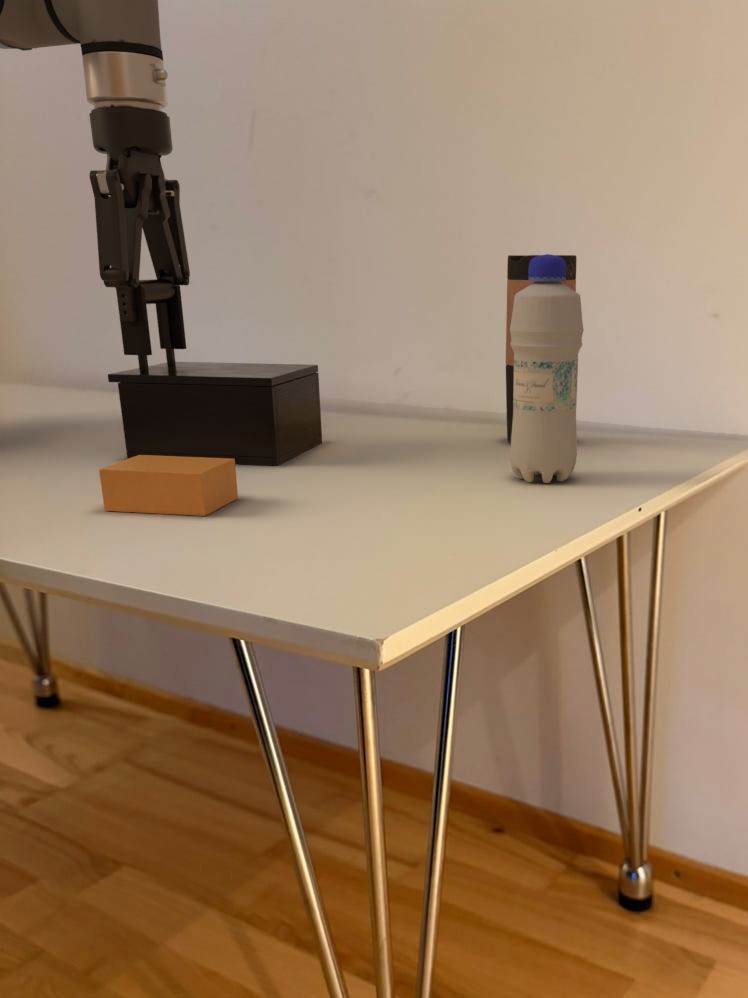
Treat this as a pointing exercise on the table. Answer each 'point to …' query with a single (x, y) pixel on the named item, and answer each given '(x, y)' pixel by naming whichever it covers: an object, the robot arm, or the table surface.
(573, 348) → the bottle
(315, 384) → the open dark storage box
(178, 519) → the table surface
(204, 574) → the table surface
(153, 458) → the orange rectangular block
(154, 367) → the maker lid
